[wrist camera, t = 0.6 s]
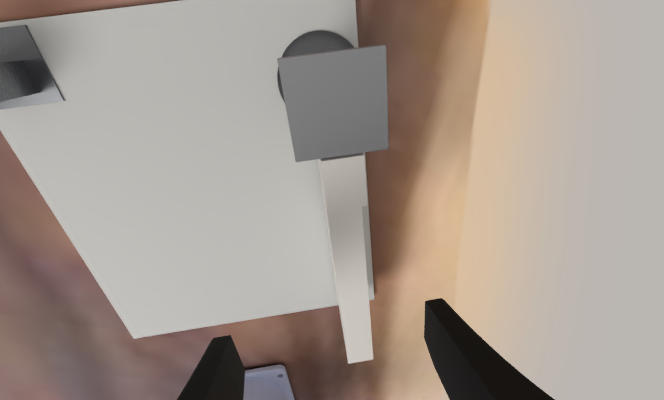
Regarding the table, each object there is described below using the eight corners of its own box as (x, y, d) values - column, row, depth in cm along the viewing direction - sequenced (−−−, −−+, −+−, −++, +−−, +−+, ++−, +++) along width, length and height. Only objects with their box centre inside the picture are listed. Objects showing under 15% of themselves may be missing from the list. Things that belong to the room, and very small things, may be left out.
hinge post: (364, 115, 17) (399, 156, 12) (286, 126, 17) (282, 173, 11) (359, 24, 15) (398, 20, 9) (269, 36, 15) (254, 38, 9)
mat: (373, 295, 24) (374, 299, 23) (136, 333, 23) (133, 338, 23) (352, -20, 14) (354, -21, 14) (-55, 30, 14) (-64, 30, 13)
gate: (283, 49, 15) (277, 59, 9) (351, 40, 15) (386, 45, 9) (326, 301, 23) (336, 390, 17) (369, 294, 23) (394, 380, 17)
